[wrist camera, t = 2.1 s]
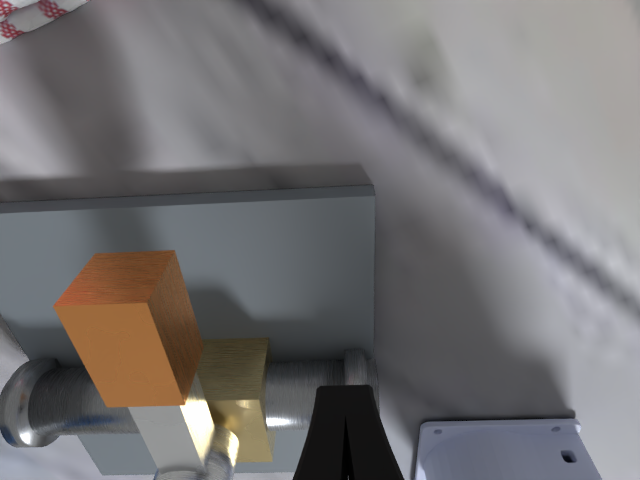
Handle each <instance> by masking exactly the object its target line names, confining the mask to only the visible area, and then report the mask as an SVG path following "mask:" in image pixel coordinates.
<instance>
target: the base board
mask: <svg viewBox="0 0 640 480" xmlns="http://www.w3.org/2000/svg"><path fill="white" fill-rule="evenodd" d="M163 250H175V252H176V255H177V259H178V262H179V266H180V269H181V272H182V276H183V279H184V282H185V286H186V289H187V292H188V296H189V299H190V302H191V306H192V309H193V312H194V316H195V319H196V322H197V326H198V329H199V332H200V336H201V339H234V338H265V337H269V341H270V347H271V353H272V358H273V362H293V361H328V360H344V350H351V349H364V351H365V359H374V272H375V192H374V187H373V185H361V186H340V187H319V188H298V189H277V190H257V191H236V192H215V193H194V194H173V195H152V196H131V197H111V198H90V199H69V200H48V201H27V202H6V203H0V314H1V316H2V317H3V319H4V320H5V322H6V324H7V325H8V327H9V328H10V330H11V332H12V333H13V335H14V336H15V338H16V339H17V341H18V343H19V344H20V346H21V347H22V349H23V351H24V352H25V354H26V355H27V357H28V358H29V360H33V359H52V358H57V360H58V361H59V363H60V365H61V367H62V368H86V367H85V366H84V364H83V362H82V360H81V358H80V356H79V354H78V352H77V351H76V349H75V347H74V345H73V343H72V341H71V339H70V338H69V336H68V334H67V332H66V330H65V328H64V326H63V324H62V323H61V321H60V319H59V317H58V315H57V313H56V311H55V309H54V308H53V305H54V304H55V303H56V302H57V300H58V299H59V298H60V297H61V295H62V294H63V293H64V292H65V290H66V289H67V288H68V287H69V285H70V284H71V283H72V282H73V280H74V279H75V278H76V277H77V275H78V274H79V273H80V272H81V270H82V269H83V268H84V267H85V265H86V264H87V263H88V262H89V260H90V259H91V258H92V256H93V255H94V254H95V253H116V252H140V251H163ZM307 433H308V430H287V431H276V436H275V445H274V454H273V462H239V463H236V466H235V472H234V473H269V472H296V469H297V465H298V462H299V459H300V456H301V453H302V450H303V447H304V444H305V440H306V437H307ZM77 436H78V438H79V439H80V441H81V442H82V444H83V445H84V447H85V449H86V450H87V452H88V453H89V455H90V457H91V458H92V460H93V461H94V463H95V464H96V466H97V468H98V469H99V471H100V472H101V474H102V475H150V474H155V473H156V470H157V466H156V464H155V462H154V460H153V458H152V456H151V454H150V452H149V450H148V448H147V446H146V443H145V441H144V439H143V437H142V435H141V434H100V435H77Z"/></svg>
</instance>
